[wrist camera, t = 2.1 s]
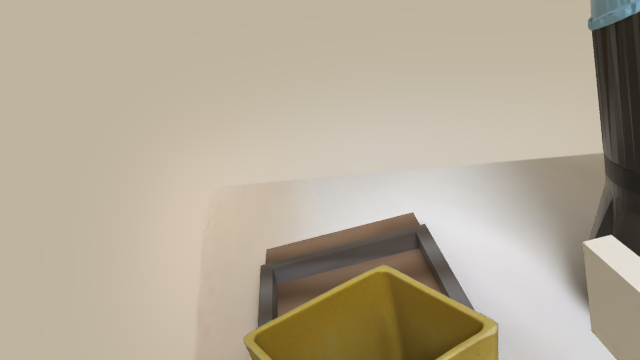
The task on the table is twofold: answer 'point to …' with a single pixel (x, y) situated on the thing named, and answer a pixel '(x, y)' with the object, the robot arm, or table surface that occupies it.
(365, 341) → the flower pot
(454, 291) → the tray
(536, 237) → the table surface
